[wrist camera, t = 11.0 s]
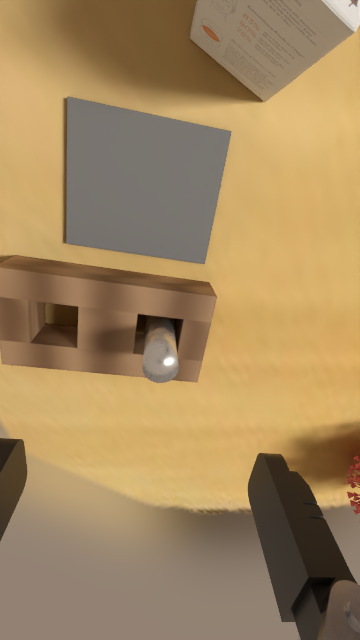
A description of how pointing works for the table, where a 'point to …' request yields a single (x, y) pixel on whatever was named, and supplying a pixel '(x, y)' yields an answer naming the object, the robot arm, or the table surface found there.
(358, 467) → the virus model
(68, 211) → the mat
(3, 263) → the socket block
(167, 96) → the table surface
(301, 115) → the table surface
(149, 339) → the peg
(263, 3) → the small box
